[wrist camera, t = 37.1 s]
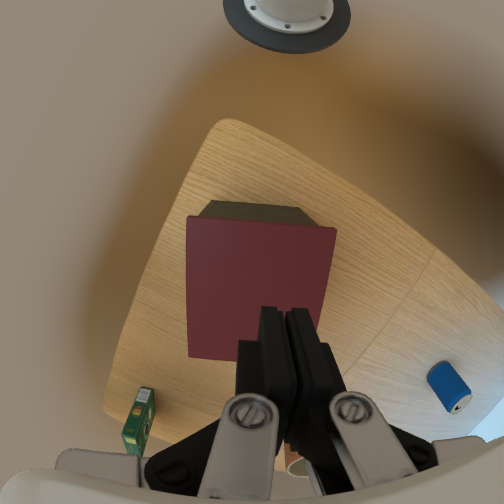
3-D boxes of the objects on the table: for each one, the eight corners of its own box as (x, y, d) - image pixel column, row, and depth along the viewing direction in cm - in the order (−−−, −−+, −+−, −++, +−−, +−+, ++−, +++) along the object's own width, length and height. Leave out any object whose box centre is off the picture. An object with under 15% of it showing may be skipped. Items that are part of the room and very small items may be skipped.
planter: (330, 402, 49) (343, 443, 38) (341, 429, 52) (352, 466, 42) (273, 420, 50) (277, 463, 39) (291, 445, 54) (296, 482, 43)
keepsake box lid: (188, 215, 21) (186, 217, 21) (334, 227, 22) (337, 229, 21) (189, 352, 26) (188, 357, 25) (306, 359, 26) (307, 364, 26)
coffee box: (139, 384, 46) (119, 435, 34) (153, 387, 46) (135, 439, 34) (143, 409, 49) (127, 456, 36) (156, 411, 49) (142, 460, 37)
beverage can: (420, 380, 48) (444, 416, 37) (437, 358, 47) (464, 393, 35) (436, 382, 49) (459, 415, 38) (452, 360, 47) (478, 393, 36)
